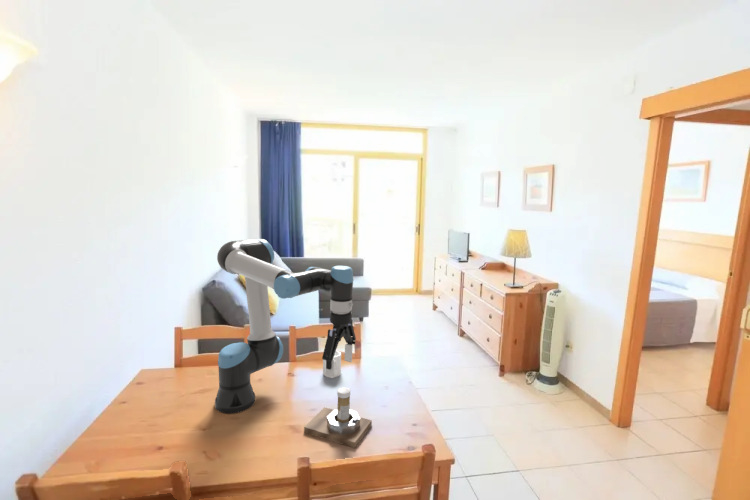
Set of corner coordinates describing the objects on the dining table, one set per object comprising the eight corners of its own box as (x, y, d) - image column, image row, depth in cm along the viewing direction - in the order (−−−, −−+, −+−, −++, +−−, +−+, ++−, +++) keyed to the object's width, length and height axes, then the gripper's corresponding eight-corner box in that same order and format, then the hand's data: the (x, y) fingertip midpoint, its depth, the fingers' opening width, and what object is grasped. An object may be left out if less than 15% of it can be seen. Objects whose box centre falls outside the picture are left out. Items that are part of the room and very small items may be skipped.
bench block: (304, 432, 136) (304, 426, 136) (324, 412, 149) (324, 407, 149) (354, 448, 129) (354, 442, 128) (371, 425, 141) (371, 420, 141)
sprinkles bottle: (336, 421, 140) (337, 386, 138) (349, 421, 140) (350, 386, 138) (336, 429, 135) (337, 393, 133) (349, 428, 136) (350, 393, 134)
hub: (322, 429, 135) (322, 419, 134) (337, 413, 145) (337, 404, 144) (350, 437, 131) (350, 427, 130) (363, 420, 141) (363, 411, 140)
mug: (321, 370, 184) (321, 351, 182) (339, 368, 186) (339, 349, 185) (325, 382, 172) (326, 361, 171) (344, 380, 175) (345, 359, 173)
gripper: (332, 323, 120) (331, 387, 123) (365, 303, 142) (363, 357, 146) (312, 319, 123) (311, 381, 126) (347, 300, 145) (346, 353, 149)
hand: (339, 368), depth 136 cm, fingers open, 13 cm apart
